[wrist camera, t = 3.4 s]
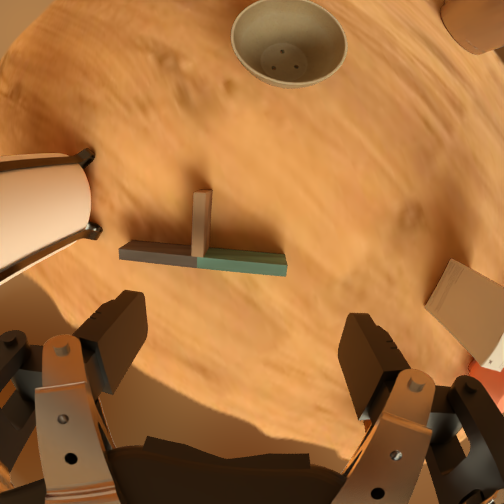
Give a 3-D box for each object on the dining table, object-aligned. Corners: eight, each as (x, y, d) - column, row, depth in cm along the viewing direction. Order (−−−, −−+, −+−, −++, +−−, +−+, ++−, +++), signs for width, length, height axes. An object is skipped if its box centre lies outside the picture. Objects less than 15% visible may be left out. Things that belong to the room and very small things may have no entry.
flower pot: (321, 114, 26) (339, 98, 19) (228, 93, 25) (218, 72, 19) (335, 40, 23) (353, 12, 16) (248, 21, 22) (245, -12, 16)
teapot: (493, 379, 38) (519, 414, 25) (443, 400, 39) (469, 445, 26) (519, 320, 33) (555, 353, 20) (471, 337, 34) (511, 382, 21)
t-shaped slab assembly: (131, 186, 29) (117, 189, 25) (291, 196, 28) (295, 200, 25) (132, 249, 31) (119, 259, 28) (283, 264, 31) (285, 276, 27)
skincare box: (444, 317, 33) (498, 376, 18) (421, 306, 32) (479, 371, 18) (472, 269, 30) (537, 315, 16) (450, 253, 30) (524, 300, 15)
